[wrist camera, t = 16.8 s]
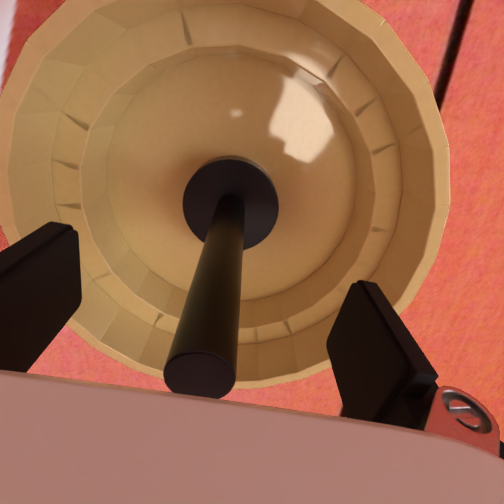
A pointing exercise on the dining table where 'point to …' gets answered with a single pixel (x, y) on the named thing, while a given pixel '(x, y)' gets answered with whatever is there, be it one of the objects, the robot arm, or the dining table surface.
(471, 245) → the dining table surface
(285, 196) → the bowl
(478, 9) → the dining table surface
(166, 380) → the black plunger
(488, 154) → the dining table surface
